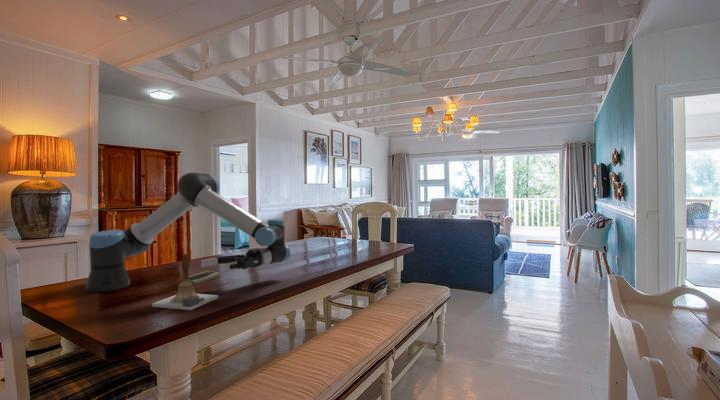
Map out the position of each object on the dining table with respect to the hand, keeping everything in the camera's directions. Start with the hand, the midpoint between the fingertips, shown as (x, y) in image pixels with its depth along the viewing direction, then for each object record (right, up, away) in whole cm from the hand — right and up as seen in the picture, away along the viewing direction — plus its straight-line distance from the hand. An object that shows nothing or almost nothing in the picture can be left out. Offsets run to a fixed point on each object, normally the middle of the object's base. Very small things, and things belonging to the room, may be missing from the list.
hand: (210, 265), depth 135 cm
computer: (-15, -12, +24) cm, 31 cm away
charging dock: (-6, -12, -8) cm, 15 cm away
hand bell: (-6, -10, -8) cm, 14 cm away
